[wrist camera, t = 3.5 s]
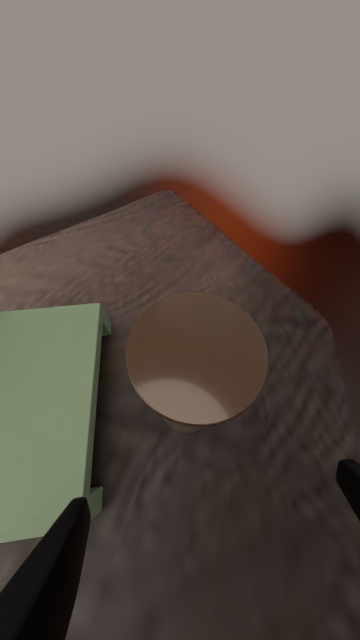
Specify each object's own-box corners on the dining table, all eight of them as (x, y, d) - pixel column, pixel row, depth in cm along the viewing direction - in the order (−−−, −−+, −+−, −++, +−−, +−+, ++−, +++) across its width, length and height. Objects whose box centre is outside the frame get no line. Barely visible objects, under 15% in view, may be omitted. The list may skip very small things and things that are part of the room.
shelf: (101, 511, 16) (67, 541, 11) (-57, 535, 15) (-167, 578, 10) (111, 323, 24) (94, 292, 19) (8, 333, 23) (-36, 304, 18)
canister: (231, 402, 19) (298, 352, 9) (184, 452, 17) (194, 468, 7) (188, 357, 22) (198, 272, 11) (142, 397, 20) (98, 341, 9)
